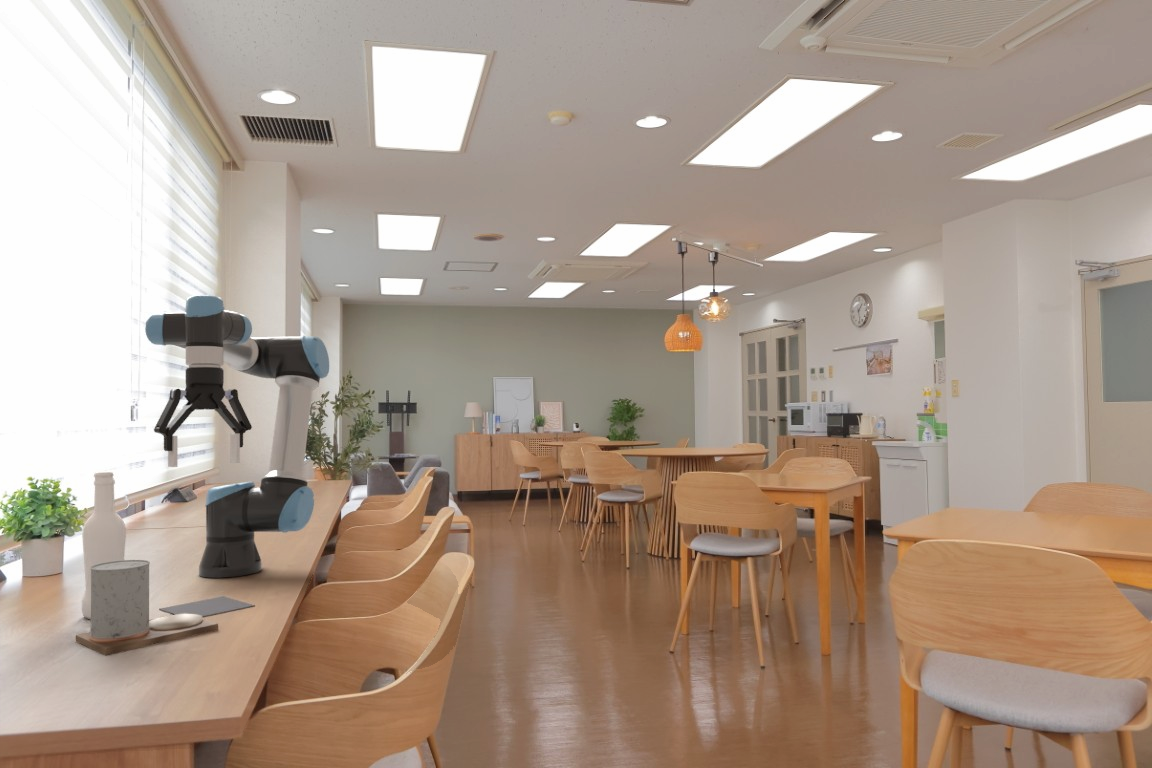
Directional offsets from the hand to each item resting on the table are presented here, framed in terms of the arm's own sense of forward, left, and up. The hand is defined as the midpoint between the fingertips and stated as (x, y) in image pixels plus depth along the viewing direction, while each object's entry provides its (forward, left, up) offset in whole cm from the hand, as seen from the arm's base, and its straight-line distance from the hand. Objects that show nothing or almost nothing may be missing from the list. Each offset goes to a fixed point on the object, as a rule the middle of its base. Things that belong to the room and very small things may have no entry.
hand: (204, 464), depth 174 cm
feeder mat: (0, +1, -31) cm, 31 cm away
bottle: (+16, -11, -31) cm, 36 cm away
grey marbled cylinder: (+22, +13, -29) cm, 39 cm away
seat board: (+17, +13, -31) cm, 37 cm away
